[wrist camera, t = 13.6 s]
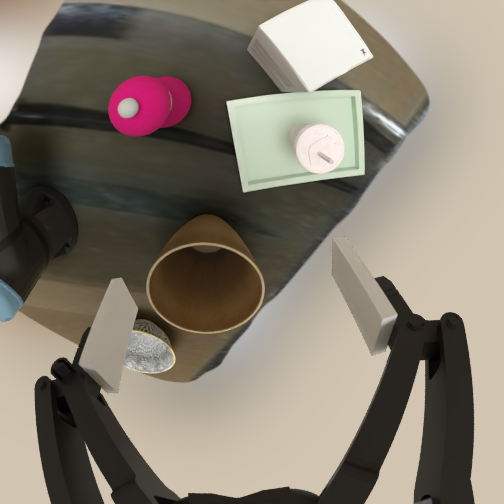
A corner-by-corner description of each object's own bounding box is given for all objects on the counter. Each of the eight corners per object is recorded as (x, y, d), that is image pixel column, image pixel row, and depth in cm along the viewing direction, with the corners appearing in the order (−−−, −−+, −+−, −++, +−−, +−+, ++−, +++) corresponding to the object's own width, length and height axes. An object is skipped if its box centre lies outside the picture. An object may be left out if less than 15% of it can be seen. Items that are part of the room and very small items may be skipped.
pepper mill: (204, 98, 35) (187, 100, 18) (171, 133, 37) (130, 168, 20) (169, 69, 31) (123, 50, 15) (137, 105, 34) (71, 120, 17)
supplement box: (294, 20, 29) (329, -10, 16) (327, 65, 33) (377, 57, 20) (244, 48, 31) (255, 24, 18) (280, 94, 35) (311, 94, 23)
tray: (242, 187, 43) (243, 192, 41) (226, 101, 35) (226, 101, 33) (358, 170, 43) (364, 174, 41) (353, 89, 35) (360, 90, 33)
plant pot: (209, 281, 52) (207, 347, 39) (149, 232, 46) (124, 292, 32) (269, 234, 48) (288, 295, 35) (210, 173, 41) (203, 218, 28)
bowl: (180, 352, 64) (178, 376, 58) (120, 346, 61) (114, 369, 55) (175, 307, 55) (171, 334, 49) (106, 301, 53) (96, 326, 47)
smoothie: (271, 143, 39) (294, 167, 27) (293, 108, 36) (326, 116, 24) (306, 163, 41) (340, 196, 29) (327, 130, 38) (371, 150, 26)
